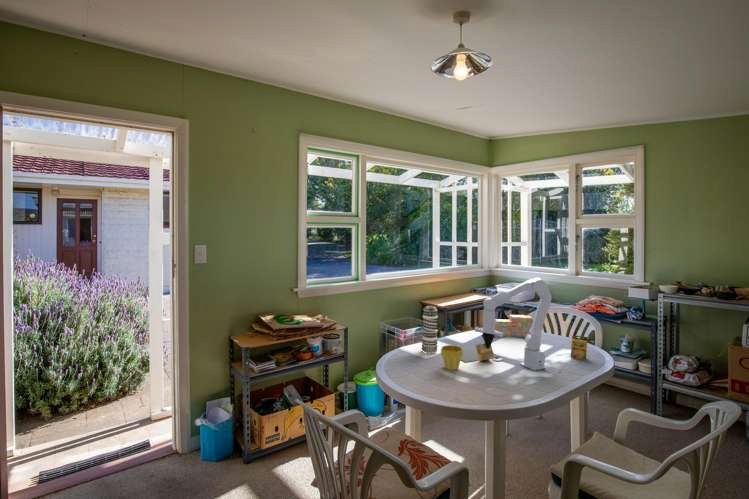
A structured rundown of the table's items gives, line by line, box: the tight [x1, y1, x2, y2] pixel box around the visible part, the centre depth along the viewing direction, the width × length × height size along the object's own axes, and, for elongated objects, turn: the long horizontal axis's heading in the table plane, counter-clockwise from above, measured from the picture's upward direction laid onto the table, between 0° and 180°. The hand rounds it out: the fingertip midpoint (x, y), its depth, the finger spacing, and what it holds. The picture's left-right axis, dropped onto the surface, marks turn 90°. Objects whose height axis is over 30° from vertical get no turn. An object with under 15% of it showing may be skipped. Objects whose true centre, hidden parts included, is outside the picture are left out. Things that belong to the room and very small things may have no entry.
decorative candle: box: [421, 305, 440, 354], centre depth 228 cm, size 9×9×25 cm
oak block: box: [475, 342, 495, 362], centre depth 216 cm, size 5×6×8 cm
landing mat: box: [460, 346, 500, 364], centre depth 226 cm, size 18×22×1 cm
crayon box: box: [570, 334, 588, 361], centre depth 221 cm, size 7×3×12 cm, turn 62°
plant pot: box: [440, 344, 463, 371], centre depth 206 cm, size 10×10×10 cm
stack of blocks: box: [495, 314, 533, 338], centre depth 262 cm, size 21×6×12 cm, turn 86°
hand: (488, 348), depth 213 cm, fingers closed
